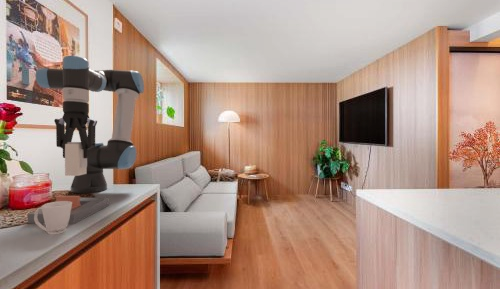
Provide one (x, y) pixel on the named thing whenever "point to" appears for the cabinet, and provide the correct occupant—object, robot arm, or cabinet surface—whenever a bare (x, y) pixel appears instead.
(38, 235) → the cabinet surface
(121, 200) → the cabinet surface
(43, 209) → the cup
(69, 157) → the plug
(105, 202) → the socket
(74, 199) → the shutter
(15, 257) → the cabinet surface
